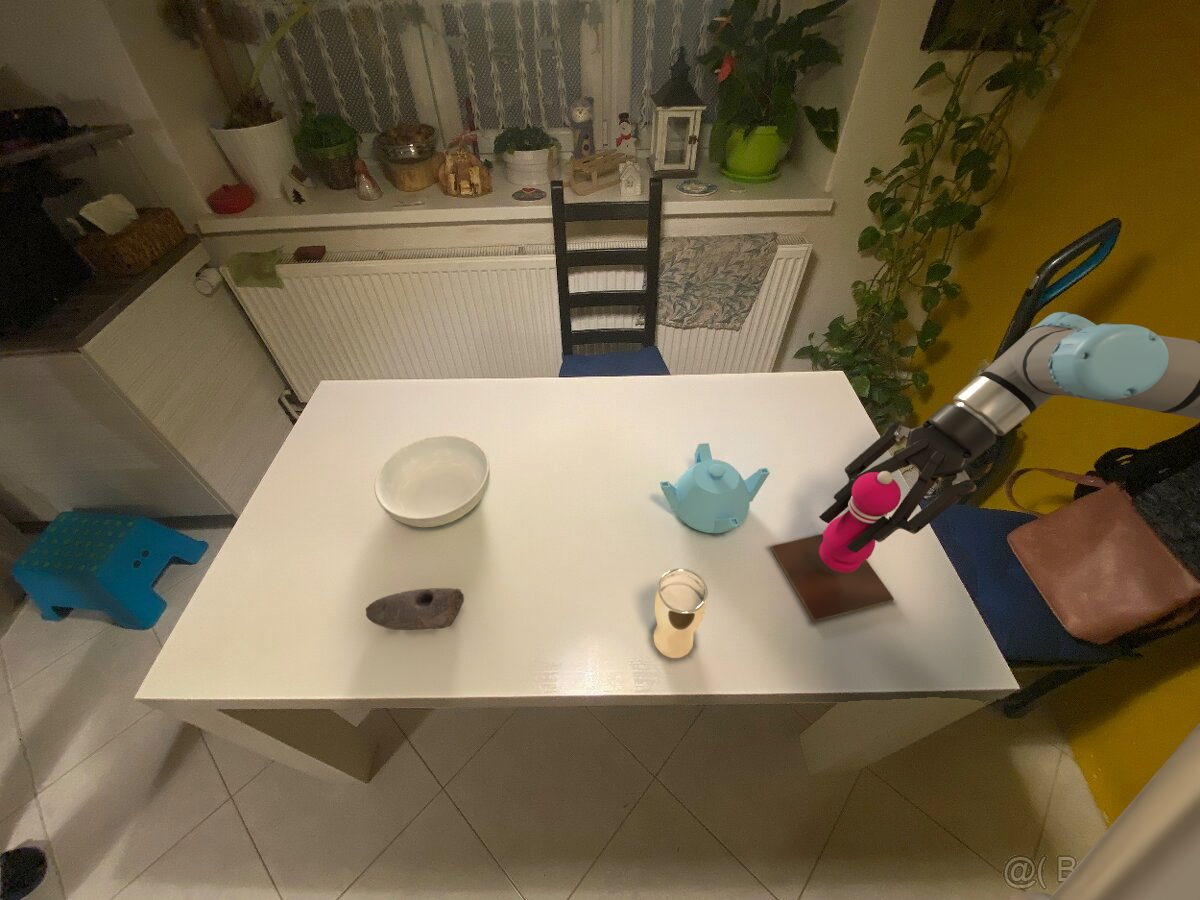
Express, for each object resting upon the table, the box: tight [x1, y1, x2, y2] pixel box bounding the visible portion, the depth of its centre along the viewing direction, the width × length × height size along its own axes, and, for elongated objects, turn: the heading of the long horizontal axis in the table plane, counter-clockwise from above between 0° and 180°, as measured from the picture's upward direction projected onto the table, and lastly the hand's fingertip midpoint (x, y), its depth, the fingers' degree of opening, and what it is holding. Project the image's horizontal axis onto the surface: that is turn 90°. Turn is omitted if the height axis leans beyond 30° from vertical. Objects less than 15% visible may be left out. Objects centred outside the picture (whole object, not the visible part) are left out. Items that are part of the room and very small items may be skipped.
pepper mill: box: [819, 471, 902, 573], centre depth 74 cm, size 7×7×20 cm
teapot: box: [659, 442, 770, 534], centre depth 92 cm, size 15×15×11 cm
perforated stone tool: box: [365, 587, 464, 630], centre depth 78 cm, size 15×5×7 cm, turn 92°
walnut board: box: [770, 533, 895, 623], centre depth 85 cm, size 14×14×1 cm
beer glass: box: [653, 567, 709, 659], centre depth 73 cm, size 7×7×15 cm
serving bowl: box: [373, 434, 491, 528], centre depth 96 cm, size 21×21×7 cm
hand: (837, 534), depth 74 cm, fingers closed on pepper mill, 5 cm apart
